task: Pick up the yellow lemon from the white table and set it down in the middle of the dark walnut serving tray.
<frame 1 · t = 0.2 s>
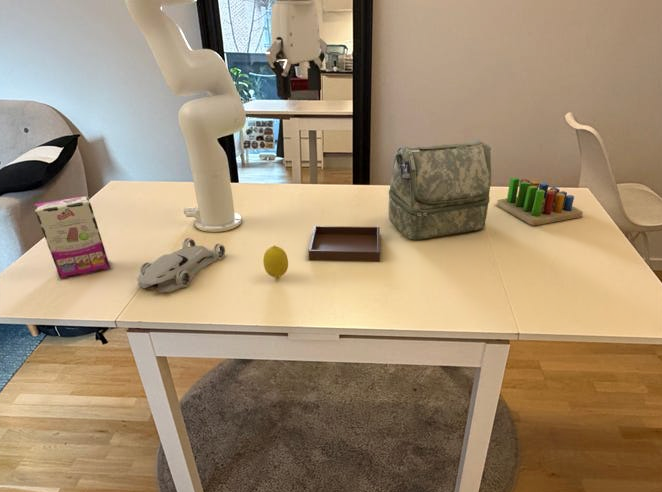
hand: (300, 93, 113), 37 cm above the table, tool pointing down, fingers open, 9 cm apart
car model: (181, 272, 128), on the table
lunch bag: (435, 226, 150), on the table
candy bar box: (84, 270, 128), on the table
walnut tray: (345, 247, 138), on the table
peg board: (538, 211, 159), on the table
lemon: (277, 278, 125), on the table
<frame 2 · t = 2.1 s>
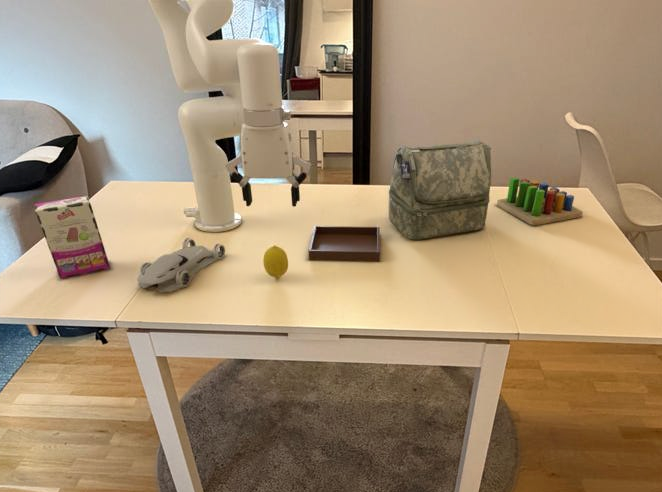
hand: (272, 204, 115), 18 cm above the table, tool pointing down, fingers open, 9 cm apart
nothing on the table moved.
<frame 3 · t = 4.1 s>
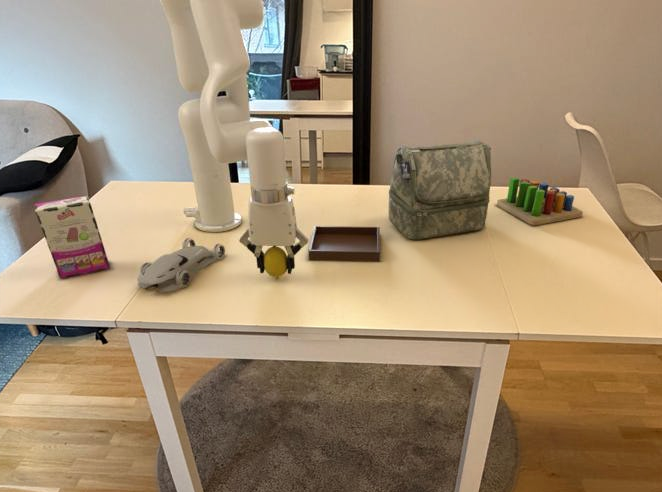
hand: (276, 270, 124), 2 cm above the table, tool pointing down, fingers closed on lemon, 5 cm apart
lemon: (277, 278, 125), on the table, touching gripper
everything else where it was.
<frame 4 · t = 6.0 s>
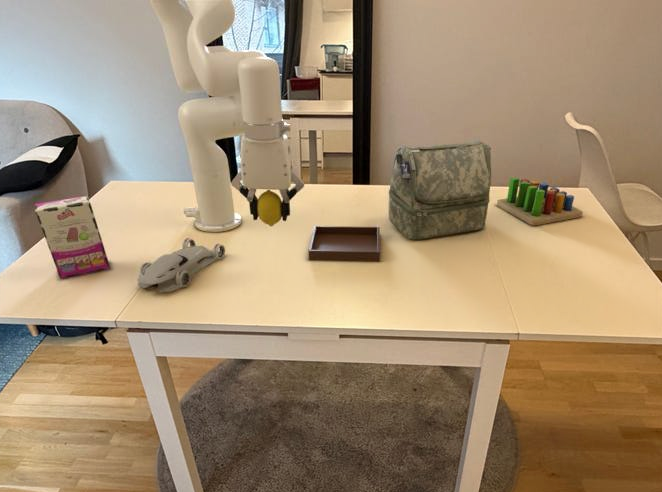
hand: (270, 217, 117), 14 cm above the table, tool pointing down, fingers closed on lemon, 5 cm apart
lemon: (271, 227, 118), point 12 cm above the table, touching gripper
everything else where it was.
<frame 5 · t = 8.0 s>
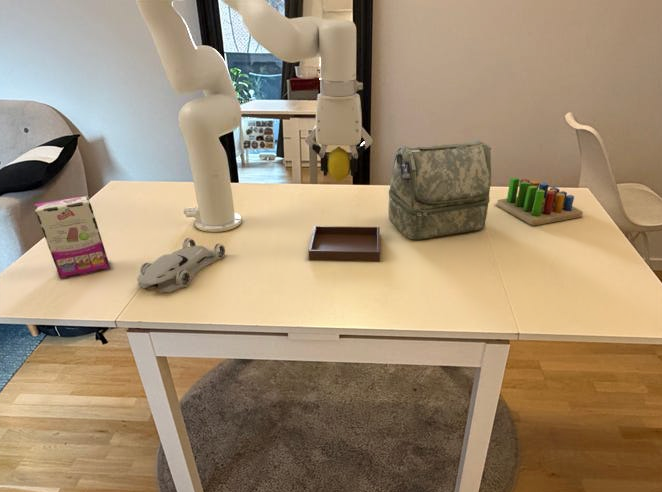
hand: (339, 173, 126), 19 cm above the table, tool pointing down, fingers closed on lemon, 5 cm apart
lemon: (339, 183, 127), point 17 cm above the table, touching gripper
everything else where it was.
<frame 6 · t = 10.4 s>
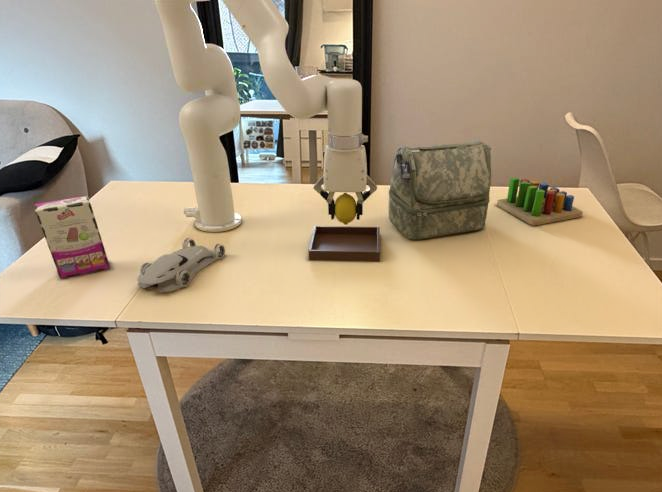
hand: (345, 216, 133), 8 cm above the table, tool pointing down, fingers closed on lemon, 5 cm apart
lemon: (345, 225, 135), point 6 cm above the table, touching gripper
everything else where it was.
when the fingers open (3 cm above the table, at t = 12.2 s): lemon stays where it is, resting on walnut tray.
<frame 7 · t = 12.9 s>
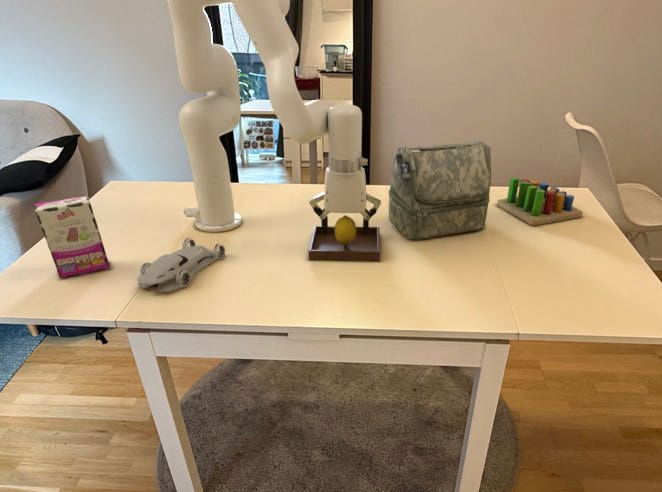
hand: (345, 233, 136), 4 cm above the table, tool pointing down, fingers open, 9 cm apart
lemon: (345, 246, 138), resting on walnut tray
everything else where it was.
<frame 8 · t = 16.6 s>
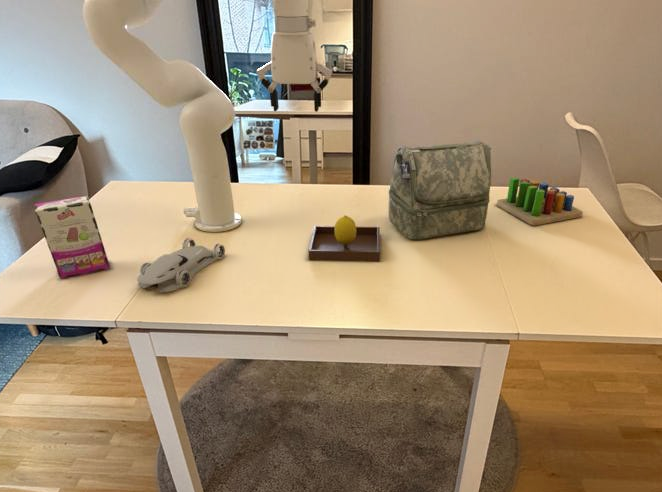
hand: (296, 110, 129), 30 cm above the table, tool pointing down, fingers open, 9 cm apart
nothing on the table moved.
at the end: lemon inside the target area in the walnut tray (0.0 cm from its centre), point 0.3 cm above the walnut tray's base; the gripper is holding nothing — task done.
